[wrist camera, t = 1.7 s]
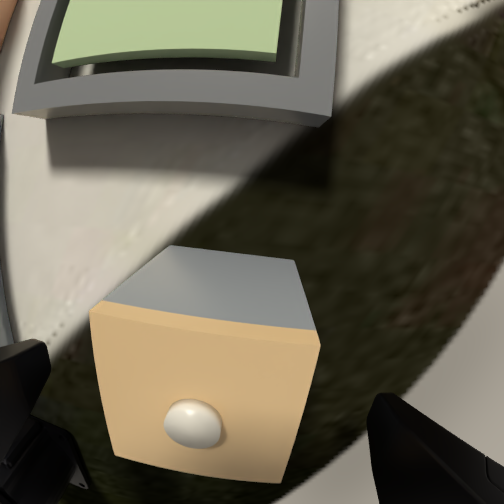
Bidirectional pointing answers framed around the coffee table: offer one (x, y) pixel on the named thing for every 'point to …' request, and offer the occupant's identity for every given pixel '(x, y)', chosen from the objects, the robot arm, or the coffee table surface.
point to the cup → (5, 17)
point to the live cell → (206, 363)
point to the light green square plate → (167, 30)
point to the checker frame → (183, 79)
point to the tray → (3, 335)
